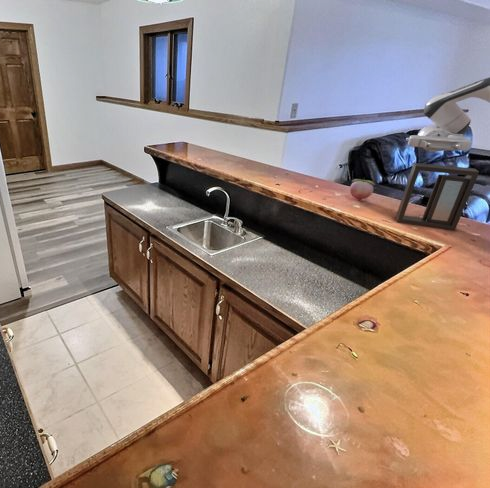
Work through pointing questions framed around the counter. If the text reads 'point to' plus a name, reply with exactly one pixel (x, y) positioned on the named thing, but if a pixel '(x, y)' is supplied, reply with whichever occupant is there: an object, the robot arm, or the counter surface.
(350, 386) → the counter surface
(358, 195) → the decorative fruit
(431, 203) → the sash
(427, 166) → the window frame
